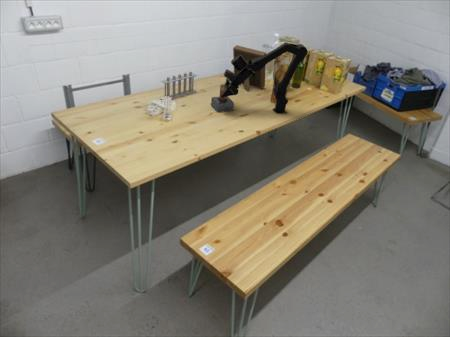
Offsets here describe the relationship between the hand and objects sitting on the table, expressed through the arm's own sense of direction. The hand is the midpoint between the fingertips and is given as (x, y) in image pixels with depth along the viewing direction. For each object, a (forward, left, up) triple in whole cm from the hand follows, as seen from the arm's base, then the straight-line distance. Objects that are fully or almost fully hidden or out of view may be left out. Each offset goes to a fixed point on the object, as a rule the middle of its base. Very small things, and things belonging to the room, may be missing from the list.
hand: (221, 93), depth 206 cm
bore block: (0, -1, -9) cm, 9 cm away
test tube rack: (+23, +18, -9) cm, 30 cm away
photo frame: (+30, -30, -9) cm, 44 cm away
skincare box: (+21, -54, -9) cm, 58 cm away
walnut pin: (0, -1, -8) cm, 8 cm away
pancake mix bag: (+6, -42, -9) cm, 43 cm away
